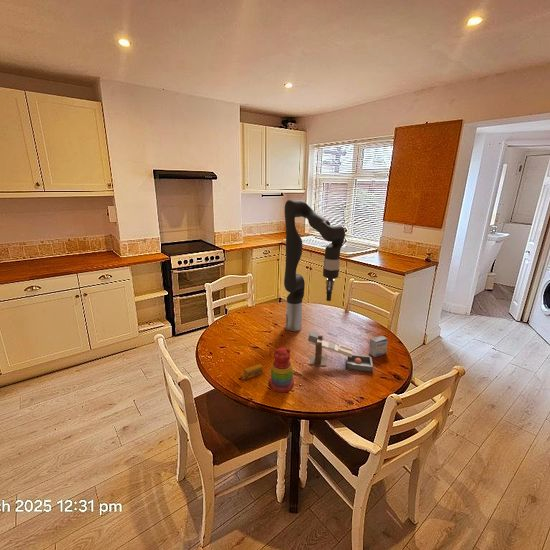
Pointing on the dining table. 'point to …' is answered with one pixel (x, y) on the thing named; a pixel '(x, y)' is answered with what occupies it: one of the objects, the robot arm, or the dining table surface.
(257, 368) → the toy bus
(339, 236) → the robot arm
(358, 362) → the ball
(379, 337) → the medicine box
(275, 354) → the stacking bear
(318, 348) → the fulcrum
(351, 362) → the tray
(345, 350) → the tilt lever
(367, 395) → the dining table surface
